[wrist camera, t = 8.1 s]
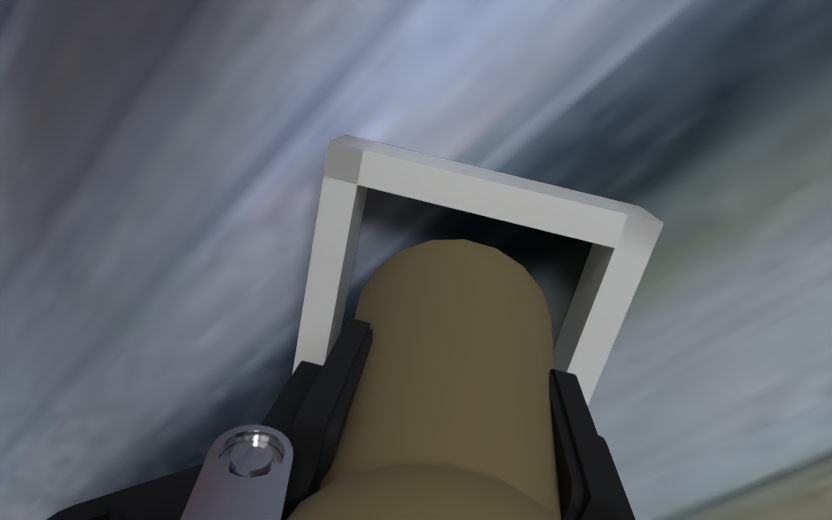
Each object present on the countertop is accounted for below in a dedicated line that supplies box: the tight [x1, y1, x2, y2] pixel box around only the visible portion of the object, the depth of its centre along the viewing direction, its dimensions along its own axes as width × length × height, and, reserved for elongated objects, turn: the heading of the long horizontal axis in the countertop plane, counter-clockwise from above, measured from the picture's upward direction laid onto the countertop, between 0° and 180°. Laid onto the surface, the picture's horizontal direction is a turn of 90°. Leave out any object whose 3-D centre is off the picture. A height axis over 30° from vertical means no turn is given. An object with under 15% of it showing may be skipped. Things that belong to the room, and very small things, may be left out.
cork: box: [287, 239, 561, 520], centre depth 10 cm, size 6×6×11 cm
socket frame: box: [292, 135, 664, 406], centre depth 18 cm, size 10×22×2 cm, turn 167°
